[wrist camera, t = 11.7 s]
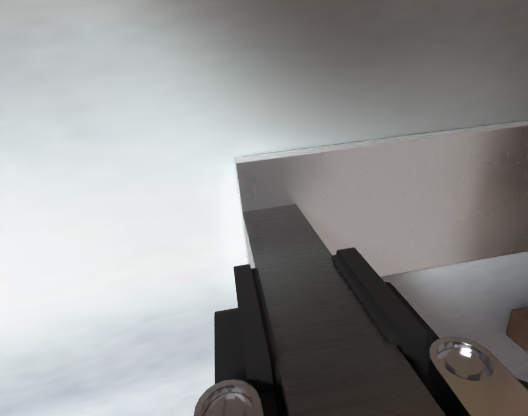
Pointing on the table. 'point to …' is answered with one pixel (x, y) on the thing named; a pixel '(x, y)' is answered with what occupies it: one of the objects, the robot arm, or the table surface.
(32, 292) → the table surface
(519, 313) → the walnut bench
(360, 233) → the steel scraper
